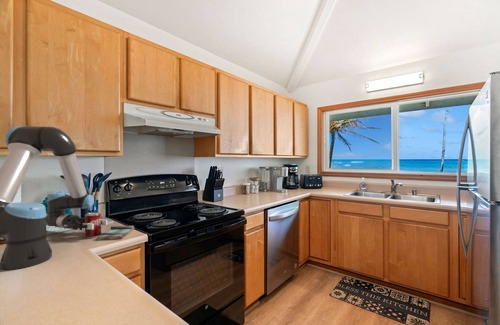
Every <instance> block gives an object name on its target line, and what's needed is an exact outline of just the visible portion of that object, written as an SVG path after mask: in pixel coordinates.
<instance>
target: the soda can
mask: <svg viewBox="0 0 500 325" xmlns="http://www.w3.org/2000/svg"><path fill="white" fill-rule="evenodd" d="M84 218H85V223H89V224H94V229H93V230H91V229H84V237H85V238H86V239H94V238H95V239H96V238H97V237H98V236H99V235H100V233H102V225H101V218H102V213H101V212H89V213H86V214H84Z"/></svg>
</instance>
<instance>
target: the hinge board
mask: <svg viewBox="0 0 500 325" xmlns="http://www.w3.org/2000/svg"><path fill="white" fill-rule="evenodd" d="M134 229H135V226H134V225H116V226H114V225H112V226H110V229H109V230H107V231H106V232H101V233H100V235H99V236H98V237H95V239H96V241H107V240H109V241H111V240H122V239H124V238H125V237H126V236H127V235H129V234H130V233H131V232H132V231H134Z"/></svg>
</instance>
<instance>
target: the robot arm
mask: <svg viewBox="0 0 500 325" xmlns="http://www.w3.org/2000/svg"><path fill="white" fill-rule="evenodd" d="M5 139H6V140H4V141H5V143H6V144H5V145H6V146H7V149H8V151H9V152H8V154H7V155H6V157H5V159H4V161H3V163H2V165H1V167H0V238H5V241H6V242H5V248H4V251H3V253H2V254H1V259H0V269H1V270H6V271H10V270H11V271H12V270H19V269H24V268H28V267H32V266H36V265H39V264H43V263H44V262H46V261H48V260H49V259H51V258H52V257H53V250H52V248H51V245H50V243H49V241H48V239H47V227H50V226H55V227H54V228H59V229H60V228H62V229H64V230H66V229H68V230H75V231H76V230H78V229H79V231H82V230H83V229H84V230H85V229H91V230H93V229H94V224H89V223H85V217H80V216H79V215H77V214H70V213H69V214H68V213H66V210H73V209H74V210H75V209H78V210H79V209H82V210H83V209H89V208H92V207H93V206H94V204H95V198H94V196H93V194H88V192H87V190H86V187H85V183H84V178H83V175H82V172H81V169H80V166H79V163H78V159H77V155H76V154H77V152H78V151H77V147H76V145H75V143H74V141H73V139H72V138H71V137H70V136H69V135H68V134H67V133H66V132H64V130H62V129H60V128H57V127H54V126H36V125H35V126H31V125H30V126H29V125H22V126H18V125H17V126H15V127H14V126H13V127H12V128H10V129H8V131H7V132H6V134H5ZM42 151H52V153H53V156H54V157H57V160H58V163H59V166H60V169H61V172H62V174H63V175H62V176H63V178H64V181H65V184H66V186H67V188H68V192H69V195H66V193H65V192H63V191H62V192H61V191H57V192H51V193H49V194H48V195H47V201H46V202H47V208H46V206H45V205H44V204H43V203H40V202H35V201H34V202H31V201H26V202H21V201H19V202H13V201H14V200H15V197H16V196H17V193H18V191H19V189H20V188H21V185H22V183H23V182H24V179H25V178H26V174H27V173H28V171H29V169H30V167H31V165H32V162H33V161H34V159H36V158H39V157H40V155H41V153H42ZM46 209H47V211H46ZM53 213H54V214H53ZM47 225H48V226H47ZM101 226H108V220H107V219H102V217H101Z"/></svg>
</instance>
